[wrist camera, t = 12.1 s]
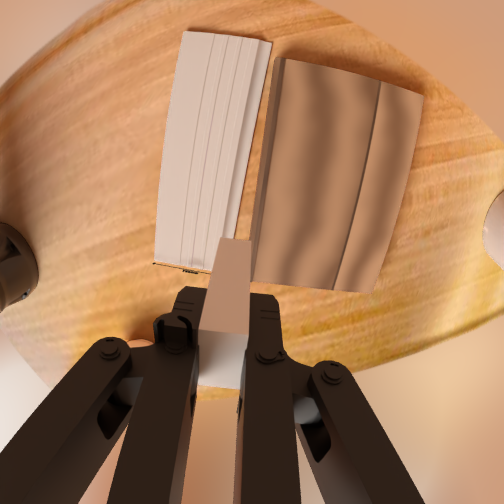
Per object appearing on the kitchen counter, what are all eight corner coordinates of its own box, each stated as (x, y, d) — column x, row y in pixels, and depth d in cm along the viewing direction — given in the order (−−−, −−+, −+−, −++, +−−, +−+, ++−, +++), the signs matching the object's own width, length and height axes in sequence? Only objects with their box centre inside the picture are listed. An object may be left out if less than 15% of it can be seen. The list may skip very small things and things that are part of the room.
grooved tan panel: (245, 269, 43) (244, 281, 41) (274, 60, 31) (275, 56, 28) (365, 282, 44) (372, 294, 41) (413, 95, 31) (424, 96, 29)
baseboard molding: (283, 46, 30) (186, 33, 30) (285, 42, 28) (180, 28, 27) (237, 270, 44) (157, 255, 43) (236, 281, 42) (151, 265, 41)
